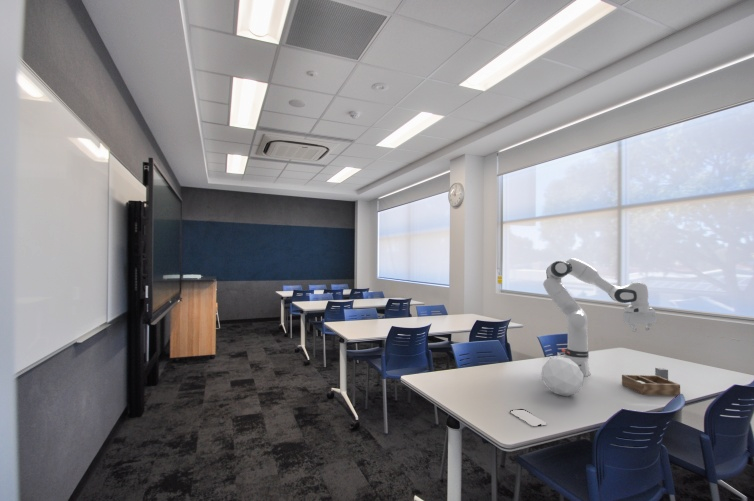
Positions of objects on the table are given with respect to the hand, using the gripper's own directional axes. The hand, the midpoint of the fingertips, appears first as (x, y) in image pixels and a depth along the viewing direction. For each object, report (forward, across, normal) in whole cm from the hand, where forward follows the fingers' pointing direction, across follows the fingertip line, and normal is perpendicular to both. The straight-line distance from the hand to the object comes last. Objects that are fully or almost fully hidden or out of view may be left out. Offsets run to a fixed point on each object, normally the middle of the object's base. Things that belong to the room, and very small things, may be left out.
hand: (641, 331), depth 214 cm
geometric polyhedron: (+25, +70, +22) cm, 77 cm away
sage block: (+26, +23, +20) cm, 41 cm away
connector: (+28, +1, +13) cm, 31 cm away
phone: (+24, +105, +47) cm, 117 cm away
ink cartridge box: (+26, +57, -3) cm, 62 cm away
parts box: (+27, +18, +21) cm, 39 cm away
